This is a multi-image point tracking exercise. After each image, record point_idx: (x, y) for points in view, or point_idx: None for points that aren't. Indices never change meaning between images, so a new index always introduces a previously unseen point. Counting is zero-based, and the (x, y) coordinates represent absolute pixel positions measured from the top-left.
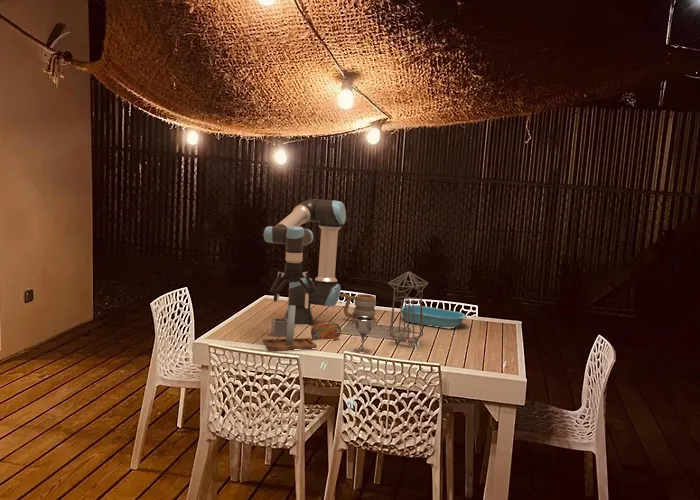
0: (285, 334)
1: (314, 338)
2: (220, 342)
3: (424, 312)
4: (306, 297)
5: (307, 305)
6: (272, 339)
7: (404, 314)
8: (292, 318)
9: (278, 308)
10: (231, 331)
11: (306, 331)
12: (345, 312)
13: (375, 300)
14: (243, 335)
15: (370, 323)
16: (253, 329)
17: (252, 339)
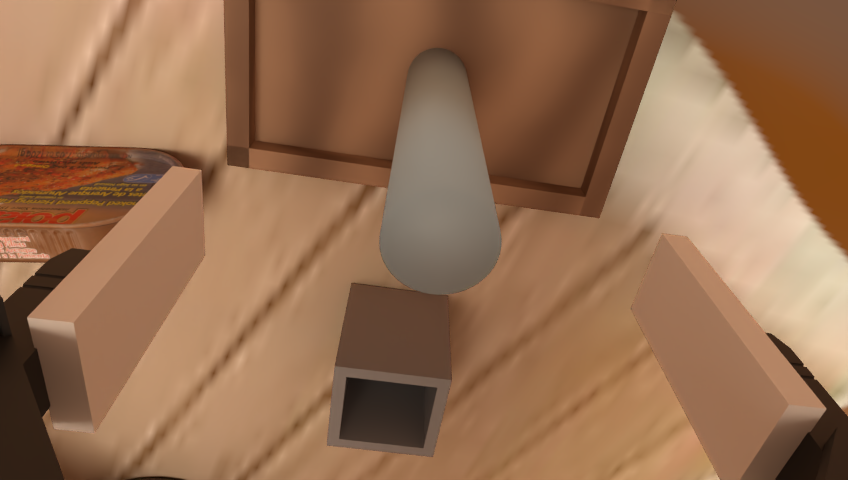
0: (368, 301)
1: (175, 163)
2: (829, 300)
3: None
4: (119, 296)
5: (163, 189)
6: (530, 199)
7: None
8: (442, 122)
9: (667, 239)
10: (620, 466)
11: (175, 381)
12: None
13: None
14: (601, 392)
15: None
16: (482, 473)
17: (598, 310)
